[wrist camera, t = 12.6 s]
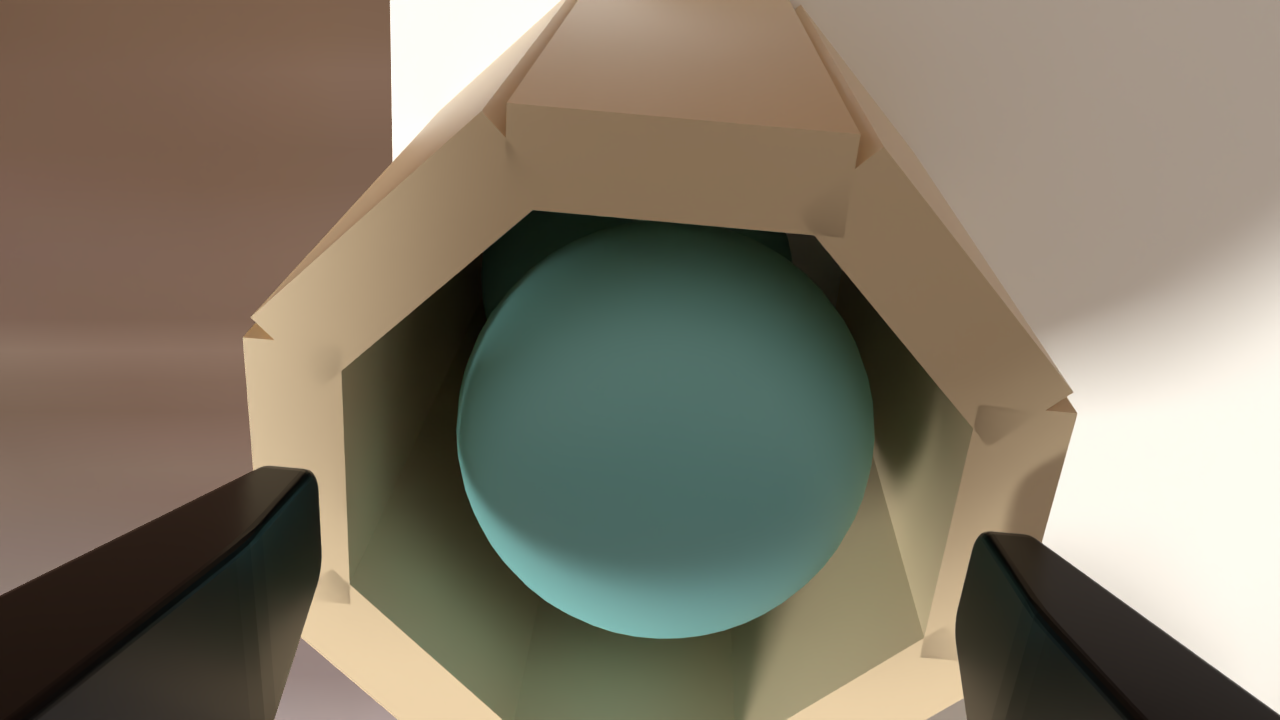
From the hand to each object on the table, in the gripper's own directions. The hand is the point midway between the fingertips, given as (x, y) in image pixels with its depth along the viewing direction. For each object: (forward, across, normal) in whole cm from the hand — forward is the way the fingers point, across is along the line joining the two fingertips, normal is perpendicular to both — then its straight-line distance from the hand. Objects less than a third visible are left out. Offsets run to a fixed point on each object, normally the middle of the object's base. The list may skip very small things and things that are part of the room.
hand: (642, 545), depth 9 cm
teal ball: (+2, 0, 0) cm, 2 cm away
